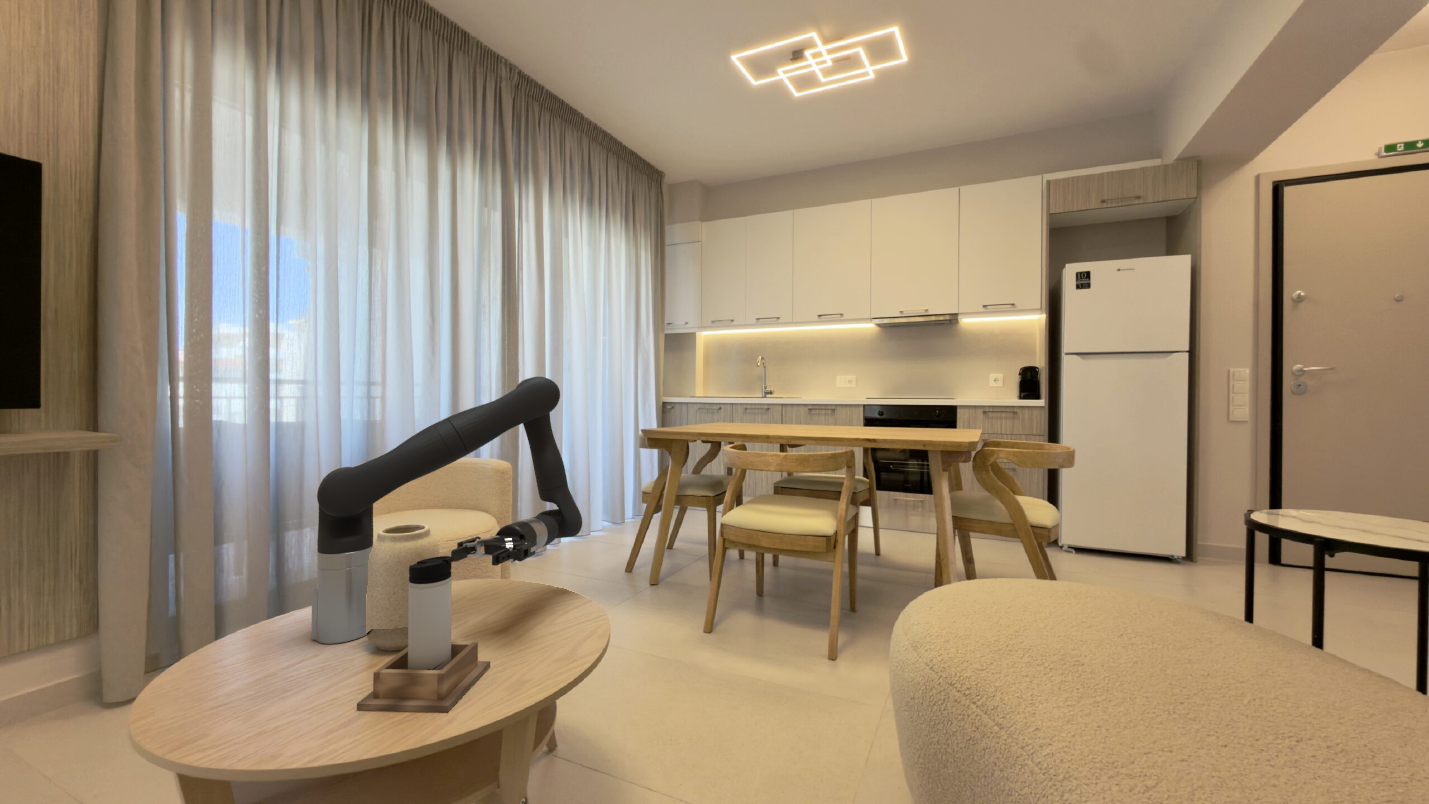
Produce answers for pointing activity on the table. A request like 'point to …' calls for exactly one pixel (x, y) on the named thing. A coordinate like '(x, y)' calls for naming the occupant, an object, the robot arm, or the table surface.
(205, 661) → the table surface
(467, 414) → the robot arm
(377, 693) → the mug holder
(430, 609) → the travel mug
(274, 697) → the table surface
